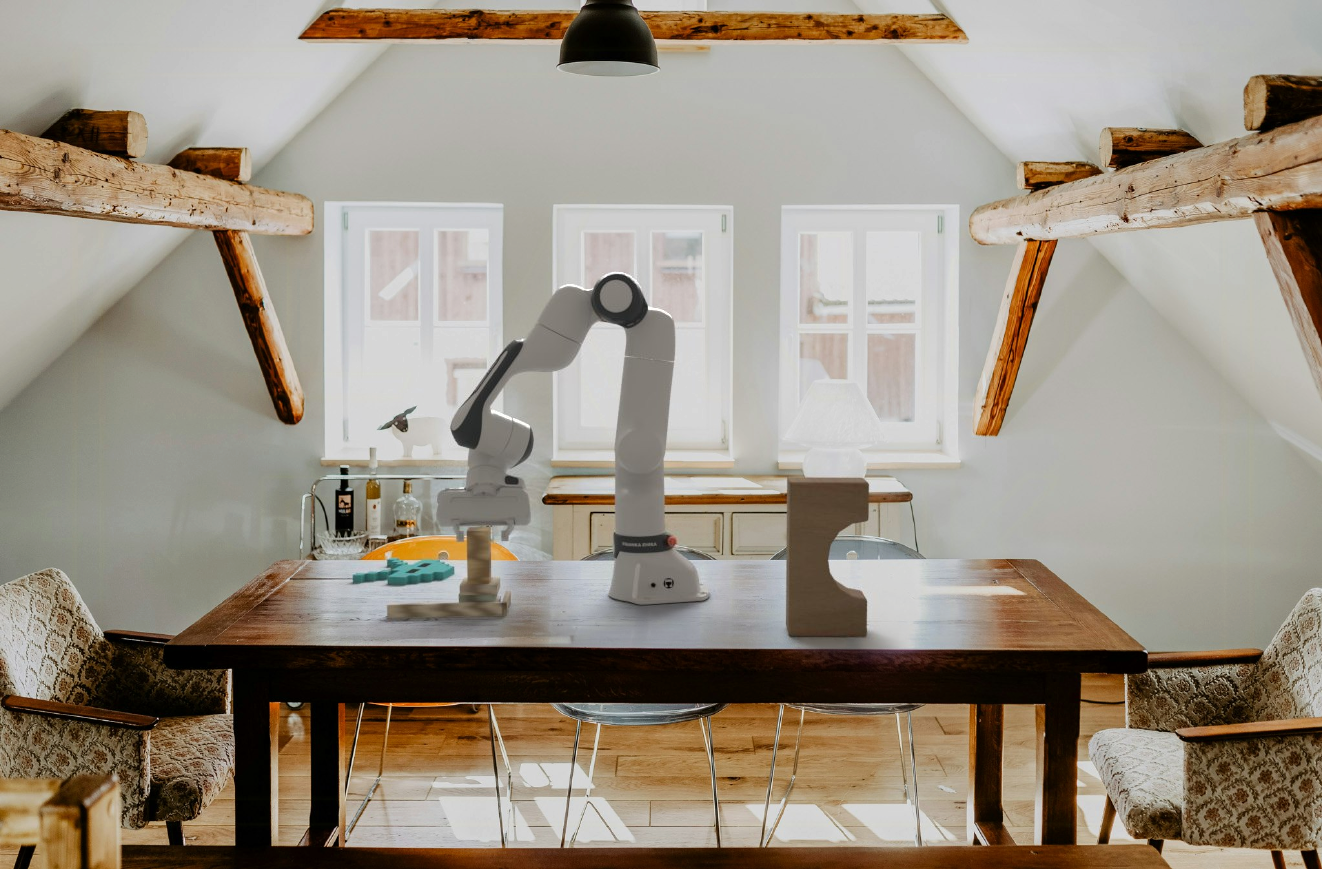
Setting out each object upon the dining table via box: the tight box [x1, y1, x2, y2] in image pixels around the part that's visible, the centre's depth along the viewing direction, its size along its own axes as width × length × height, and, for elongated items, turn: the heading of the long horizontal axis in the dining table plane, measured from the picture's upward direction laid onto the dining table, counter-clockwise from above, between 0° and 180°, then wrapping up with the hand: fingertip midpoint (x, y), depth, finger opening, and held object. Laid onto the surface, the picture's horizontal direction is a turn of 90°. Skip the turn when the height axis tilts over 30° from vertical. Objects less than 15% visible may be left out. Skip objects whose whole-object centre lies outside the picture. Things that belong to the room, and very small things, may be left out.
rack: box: [386, 590, 512, 619], centre depth 216 cm, size 24×10×4 cm, turn 93°
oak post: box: [466, 526, 492, 584], centre depth 216 cm, size 4×4×11 cm
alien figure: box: [352, 557, 455, 586], centre depth 254 cm, size 20×2×20 cm
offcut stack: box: [458, 576, 502, 603], centre depth 217 cm, size 8×7×6 cm
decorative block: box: [785, 476, 870, 638], centre depth 203 cm, size 15×8×30 cm, turn 87°
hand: (482, 540), depth 222 cm, fingers open, 8 cm apart
